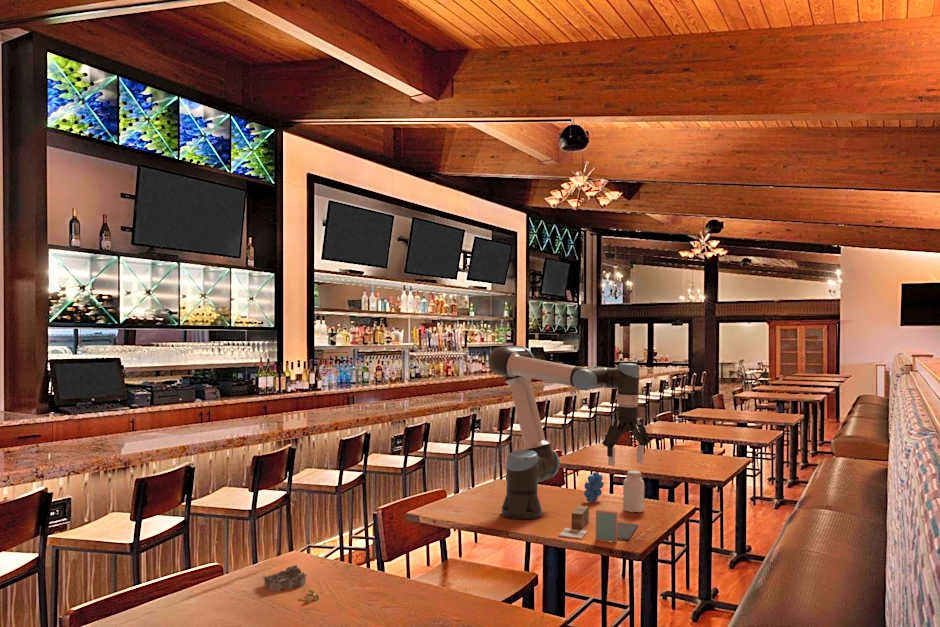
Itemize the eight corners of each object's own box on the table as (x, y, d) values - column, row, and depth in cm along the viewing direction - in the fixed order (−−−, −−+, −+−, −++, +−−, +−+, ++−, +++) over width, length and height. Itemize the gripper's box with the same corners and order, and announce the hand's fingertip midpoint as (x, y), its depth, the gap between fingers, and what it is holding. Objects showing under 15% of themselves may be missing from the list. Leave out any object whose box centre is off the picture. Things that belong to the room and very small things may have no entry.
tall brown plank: (573, 521, 273) (573, 504, 273) (594, 523, 271) (595, 507, 271) (558, 536, 253) (558, 519, 253) (581, 539, 250) (581, 521, 251)
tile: (595, 540, 249) (595, 510, 249) (596, 539, 251) (596, 509, 251) (616, 543, 247) (616, 512, 247) (617, 541, 248) (617, 511, 249)
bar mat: (599, 537, 253) (599, 535, 253) (610, 523, 272) (610, 521, 272) (629, 541, 249) (629, 539, 249) (638, 526, 268) (638, 524, 268)
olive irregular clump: (311, 596, 197) (312, 589, 197) (323, 601, 194) (323, 594, 194) (295, 601, 194) (295, 593, 194) (306, 606, 190) (306, 599, 190)
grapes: (593, 497, 311) (594, 468, 311) (607, 500, 306) (607, 471, 306) (576, 502, 303) (576, 472, 303) (589, 505, 298) (590, 475, 298)
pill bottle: (642, 508, 294) (643, 470, 294) (645, 513, 286) (645, 474, 286) (622, 507, 295) (622, 469, 295) (624, 512, 287) (624, 473, 287)
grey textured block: (297, 578, 210) (298, 564, 210) (309, 586, 204) (309, 571, 204) (260, 585, 203) (261, 570, 203) (271, 594, 197) (271, 578, 197)
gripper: (607, 408, 263) (605, 468, 263) (660, 406, 275) (658, 463, 275) (594, 405, 269) (592, 464, 269) (646, 403, 281) (644, 459, 281)
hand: (625, 464), depth 272 cm, fingers open, 13 cm apart
